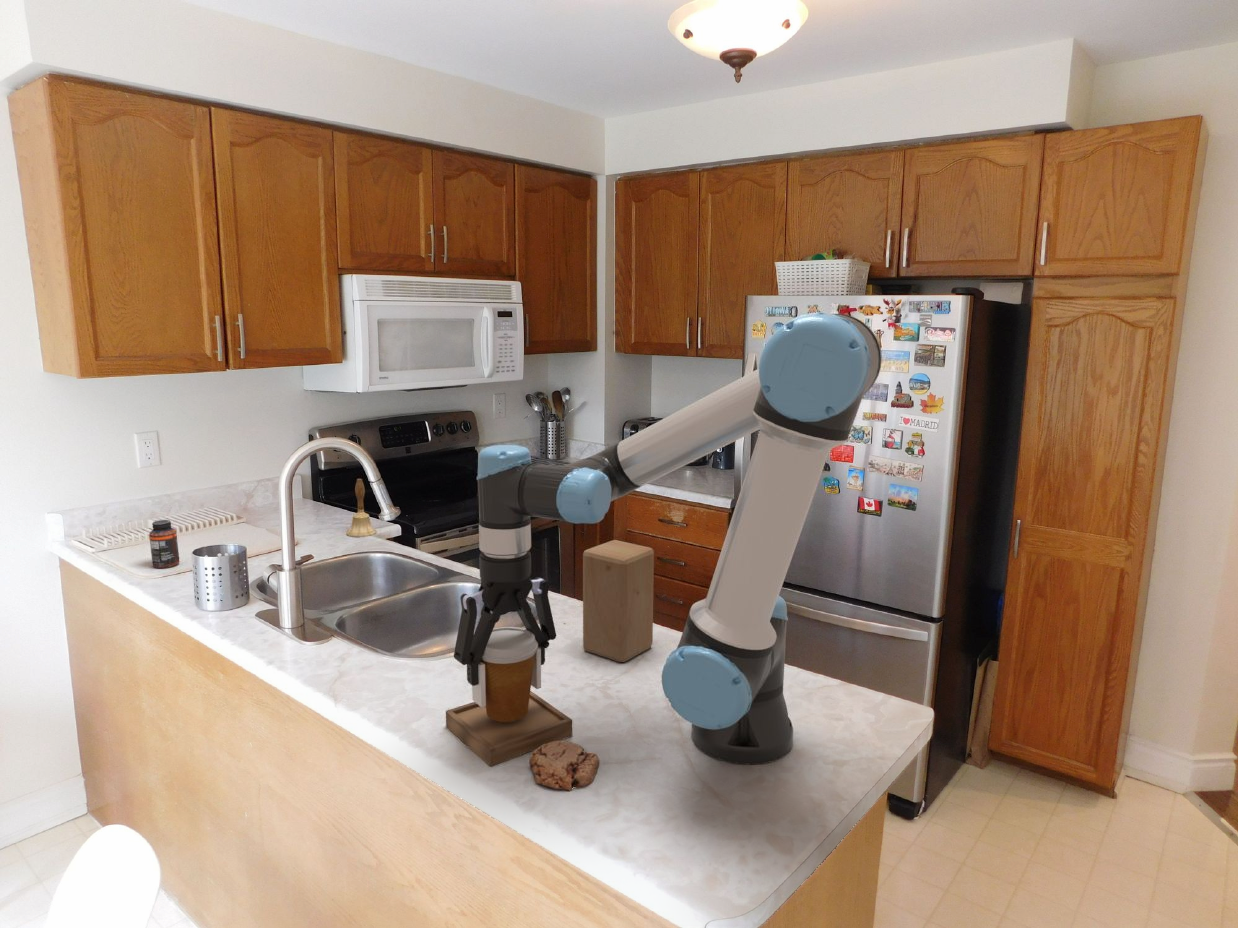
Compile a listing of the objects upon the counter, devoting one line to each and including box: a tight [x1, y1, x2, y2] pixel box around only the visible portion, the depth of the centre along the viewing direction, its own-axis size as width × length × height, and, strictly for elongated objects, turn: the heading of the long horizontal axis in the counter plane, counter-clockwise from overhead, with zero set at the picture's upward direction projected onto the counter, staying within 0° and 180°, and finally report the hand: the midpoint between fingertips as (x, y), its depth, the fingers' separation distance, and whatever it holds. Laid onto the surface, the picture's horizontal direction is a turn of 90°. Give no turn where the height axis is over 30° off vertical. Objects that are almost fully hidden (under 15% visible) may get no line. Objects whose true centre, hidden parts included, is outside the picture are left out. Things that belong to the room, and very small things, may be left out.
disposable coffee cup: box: [481, 626, 538, 722], centre depth 123 cm, size 10×10×12 cm
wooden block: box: [582, 539, 655, 663], centre depth 153 cm, size 10×10×20 cm
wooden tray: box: [445, 690, 573, 767], centre depth 124 cm, size 14×14×3 cm
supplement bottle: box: [148, 519, 180, 569], centre depth 201 cm, size 6×6×11 cm
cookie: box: [528, 740, 601, 792], centre depth 114 cm, size 10×11×3 cm
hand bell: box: [345, 478, 378, 538], centre depth 231 cm, size 8×8×16 cm
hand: (507, 693), depth 123 cm, fingers closed on disposable coffee cup, 9 cm apart
